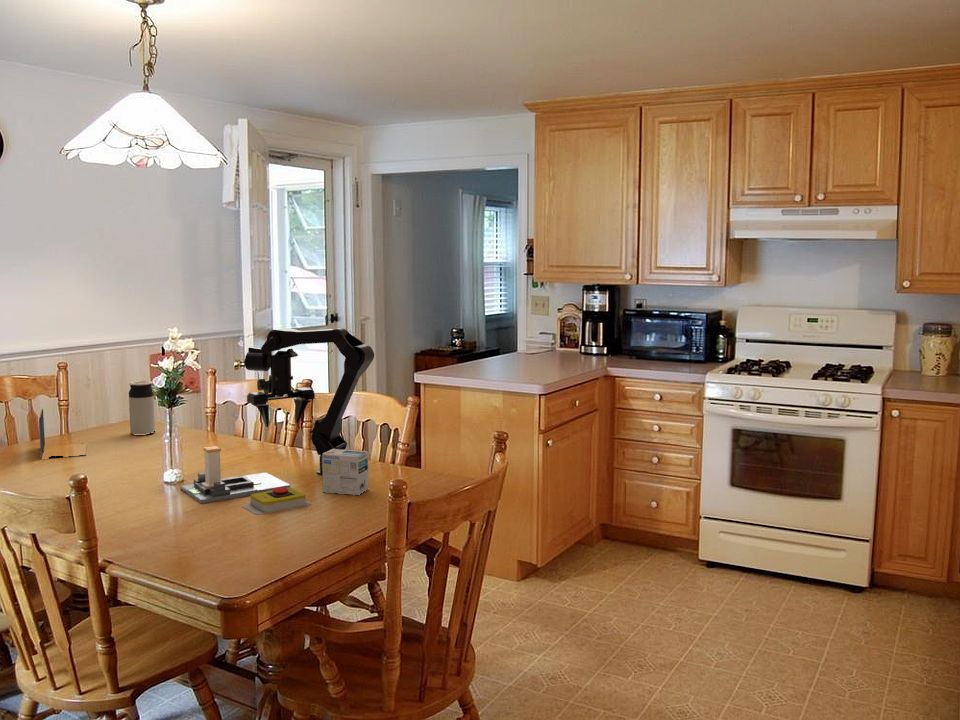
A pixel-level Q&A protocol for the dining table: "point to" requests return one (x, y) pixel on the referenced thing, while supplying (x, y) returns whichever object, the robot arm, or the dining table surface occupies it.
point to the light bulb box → (345, 471)
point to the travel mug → (141, 407)
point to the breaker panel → (232, 487)
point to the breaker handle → (212, 466)
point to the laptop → (41, 433)
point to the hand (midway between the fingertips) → (281, 425)
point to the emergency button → (276, 501)
